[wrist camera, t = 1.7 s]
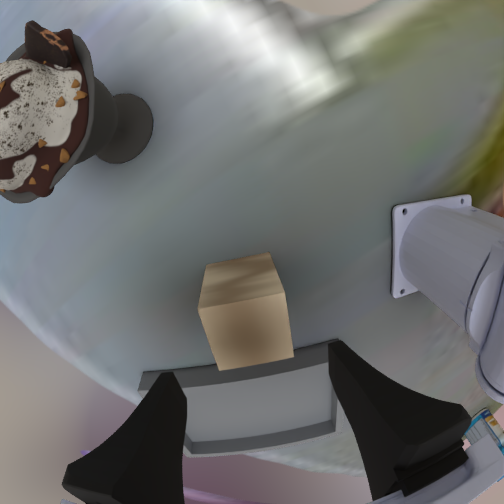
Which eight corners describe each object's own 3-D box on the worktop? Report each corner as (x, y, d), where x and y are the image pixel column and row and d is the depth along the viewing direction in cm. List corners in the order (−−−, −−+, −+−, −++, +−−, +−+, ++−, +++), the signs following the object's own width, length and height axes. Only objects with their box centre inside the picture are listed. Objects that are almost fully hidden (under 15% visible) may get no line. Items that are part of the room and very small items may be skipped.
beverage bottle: (466, 420, 36) (502, 478, 18) (491, 401, 36) (528, 453, 17) (457, 435, 39) (488, 488, 21) (481, 418, 39) (514, 466, 20)
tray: (338, 338, 22) (347, 356, 20) (336, 417, 27) (341, 433, 25) (143, 371, 22) (137, 390, 20) (188, 441, 27) (187, 457, 25)
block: (269, 252, 19) (284, 292, 14) (278, 306, 21) (294, 356, 15) (206, 264, 19) (197, 309, 14) (221, 317, 21) (219, 370, 15)
